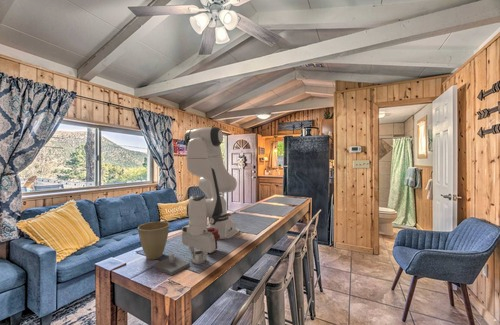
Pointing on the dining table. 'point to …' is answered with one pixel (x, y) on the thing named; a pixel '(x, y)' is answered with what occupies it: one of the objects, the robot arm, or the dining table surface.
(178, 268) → the shaft base
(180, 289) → the dining table surface
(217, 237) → the mechanical component
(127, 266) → the dining table surface
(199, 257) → the steel collar
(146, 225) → the plant pot
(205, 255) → the robot arm
